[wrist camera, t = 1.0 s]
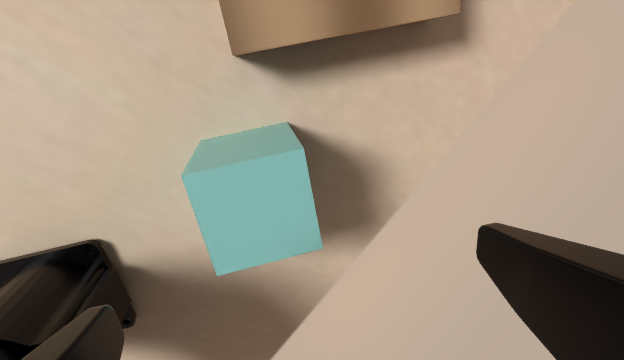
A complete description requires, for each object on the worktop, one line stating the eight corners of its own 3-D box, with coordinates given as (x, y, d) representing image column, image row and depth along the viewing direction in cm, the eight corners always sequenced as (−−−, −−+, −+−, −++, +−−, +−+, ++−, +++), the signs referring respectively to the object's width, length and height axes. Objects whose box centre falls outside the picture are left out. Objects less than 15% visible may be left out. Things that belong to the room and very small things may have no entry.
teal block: (225, 216, 20) (216, 276, 15) (200, 140, 18) (181, 175, 13) (302, 197, 21) (323, 248, 15) (286, 122, 19) (303, 148, 13)
